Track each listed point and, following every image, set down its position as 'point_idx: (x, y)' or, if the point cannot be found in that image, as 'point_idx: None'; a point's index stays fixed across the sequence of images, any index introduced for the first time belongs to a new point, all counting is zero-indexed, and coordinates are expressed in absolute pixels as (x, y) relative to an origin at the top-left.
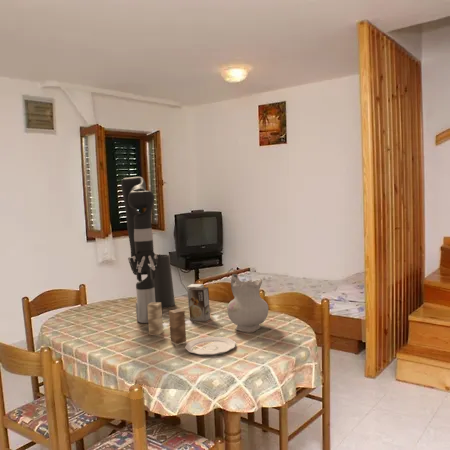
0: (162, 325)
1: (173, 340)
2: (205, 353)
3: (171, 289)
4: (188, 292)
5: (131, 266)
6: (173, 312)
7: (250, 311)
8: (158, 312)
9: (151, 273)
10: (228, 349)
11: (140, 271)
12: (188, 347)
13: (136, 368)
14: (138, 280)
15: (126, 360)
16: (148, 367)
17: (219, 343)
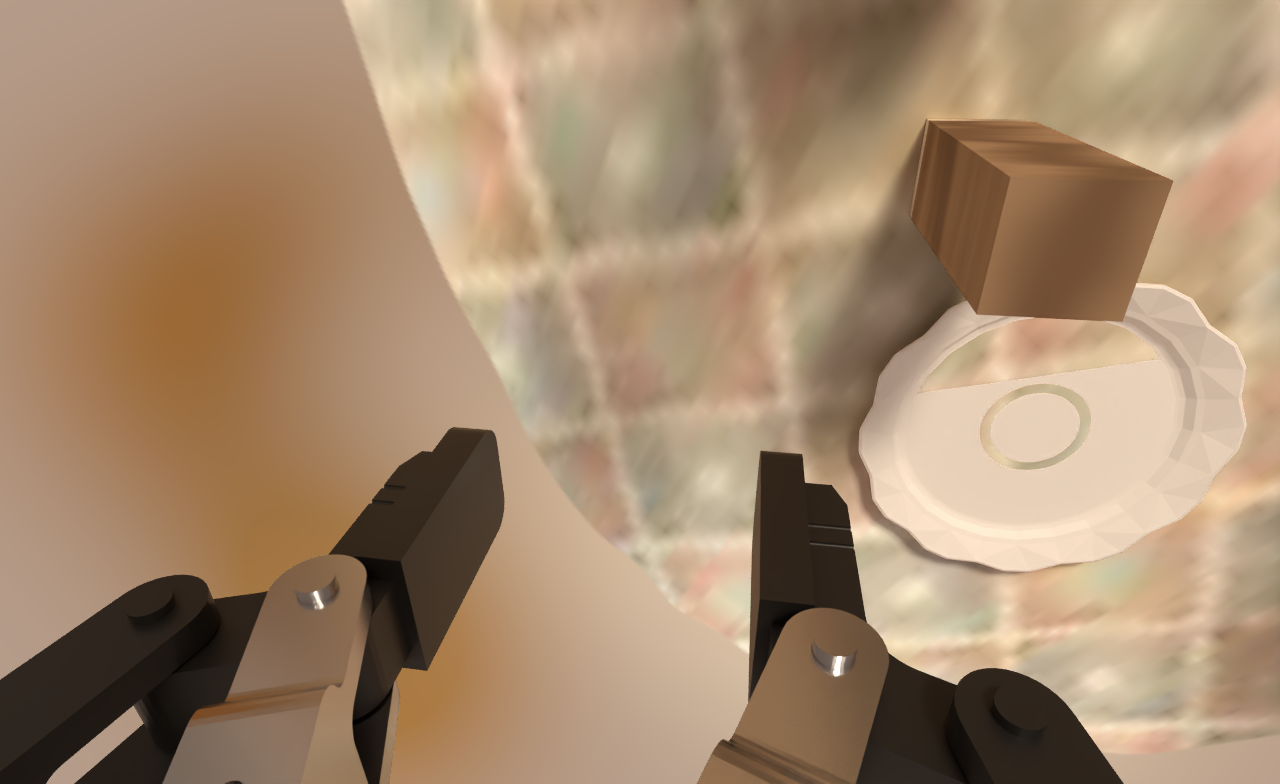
0: None
1: (921, 182)
2: (937, 476)
3: None
4: None
5: (12, 727)
6: (987, 293)
7: None
8: None
9: (752, 611)
10: (1049, 558)
11: (391, 702)
12: (913, 364)
13: (524, 402)
14: (455, 438)
15: (508, 255)
16: (581, 431)
17: (1148, 401)
